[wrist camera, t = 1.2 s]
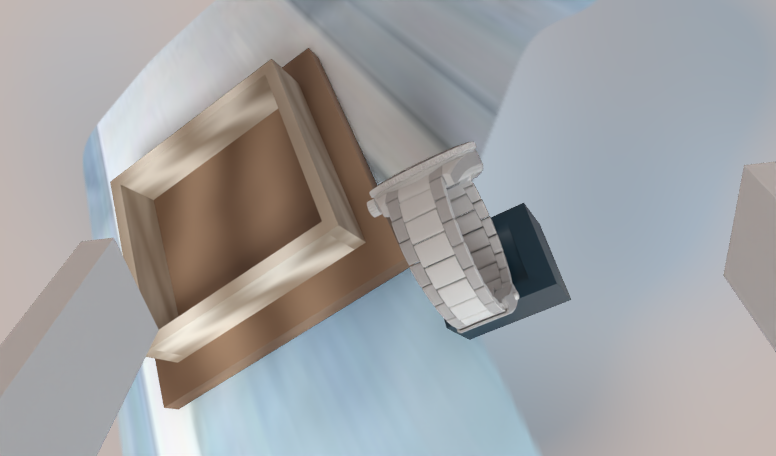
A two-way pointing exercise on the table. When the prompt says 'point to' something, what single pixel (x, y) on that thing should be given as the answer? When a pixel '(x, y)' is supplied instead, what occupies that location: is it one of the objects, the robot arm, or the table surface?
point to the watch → (468, 245)
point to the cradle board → (251, 226)
